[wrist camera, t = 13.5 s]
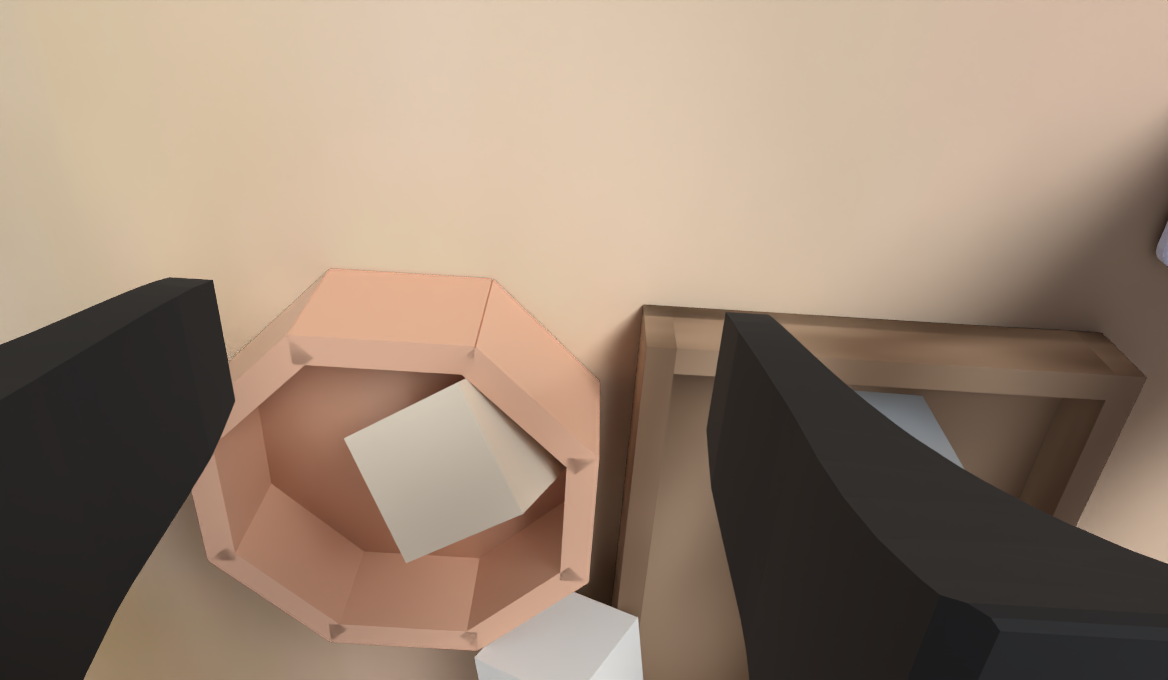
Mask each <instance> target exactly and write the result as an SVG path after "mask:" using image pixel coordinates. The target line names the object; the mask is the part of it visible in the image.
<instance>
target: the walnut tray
mask: <svg viewBox="0 0 1168 680" xmlns="http://www.w3.org/2000/svg"><path fill="white" fill-rule="evenodd" d="M726 312H735V313H751V314H768V315H770V316H771V317H773V318H774V319H775V320H776V321H777V322H779V323H780V324H781V325H782V326H783V327H784V328H785V329H786V330H787V331H788V332H790V333H791V334H792V335H793V336H794V337H795V338H796V339H797V340H798V341H799V342H800V343H801V344H802V345H803V346H804V347H806V348H807V349H808V350H809V351H810V352H811V353H812V354H813V355H814V356H815V357H816V358H817V359H818V360H820V361H821V362H822V363H823V364H824V365H825V366H826V367H827V368H828V369H829V370H831V371H832V372H833V373H834V374H835V375H836V376H837V377H838V378H840V379H841V380H842V381H843V382H844V383H845V384H846V385H848V386H849V387H850V388H851V389H852V390H854V391H866V392H879V393H892V394H906V395H919V396H923V397H924V399H925V401H926V403H927V404H928V406H929V408H930V410H931V411H932V413H933V415H934V417H935V418H936V420H937V422H938V424H939V425H940V427H941V429H942V431H943V432H944V434H945V436H946V438H947V439H948V441H949V443H950V445H951V446H952V448H953V450H954V452H955V453H956V455H957V457H958V459H959V460H960V462H961V464H962V466H963V467H964V469H965V470H966V471H968V472H970V473H971V474H973V475H975V476H977V477H978V478H980V479H982V480H984V481H985V482H987V483H989V484H991V485H993V486H995V487H997V488H999V489H1000V490H1002V491H1004V492H1006V493H1008V494H1010V495H1012V496H1014V497H1015V498H1017V499H1019V500H1021V501H1023V502H1025V503H1027V504H1029V505H1031V506H1033V507H1035V508H1037V509H1039V510H1041V511H1043V512H1045V513H1047V514H1049V515H1051V516H1053V517H1056V518H1058V519H1060V520H1062V521H1064V522H1066V523H1068V524H1071V525H1073V526H1076V524H1077V522H1078V520H1079V518H1080V516H1081V514H1082V512H1083V510H1084V508H1085V506H1086V503H1087V501H1088V499H1089V497H1090V495H1091V493H1092V491H1093V489H1094V487H1095V485H1096V483H1097V480H1098V478H1099V476H1100V474H1101V472H1102V470H1103V468H1104V466H1105V464H1106V462H1107V460H1108V458H1109V455H1110V453H1111V451H1112V449H1113V447H1114V445H1115V443H1116V441H1117V439H1118V437H1119V435H1120V432H1121V430H1122V428H1123V426H1124V424H1125V422H1126V420H1127V418H1128V416H1129V414H1130V412H1131V410H1132V407H1133V405H1134V403H1135V401H1136V399H1137V397H1138V395H1139V393H1140V391H1141V389H1142V387H1143V384H1144V382H1145V380H1146V378H1147V377H1146V376H1145V375H1144V374H1143V373H1142V372H1141V371H1140V370H1139V369H1138V368H1137V367H1136V366H1135V365H1134V364H1133V363H1132V362H1131V361H1130V360H1129V359H1128V358H1127V357H1126V356H1125V355H1124V354H1123V353H1122V352H1121V351H1120V350H1119V349H1118V348H1117V347H1116V346H1115V345H1114V344H1113V343H1112V342H1111V341H1110V340H1109V339H1108V338H1107V337H1105V336H1104V335H1103V334H1102V333H1093V332H1077V331H1061V330H1044V329H1028V328H1012V327H996V326H980V325H964V324H948V323H931V322H915V321H899V320H883V319H867V318H851V317H835V316H818V315H802V314H786V313H770V312H754V311H738V310H722V309H706V308H689V307H673V306H657V305H643V314H642V323H641V332H640V342H639V351H638V360H637V370H636V379H635V388H634V398H633V407H632V416H631V426H630V435H629V444H628V454H627V463H626V472H625V482H624V491H623V500H622V510H621V519H620V528H619V538H618V547H617V557H616V566H615V575H614V585H613V594H612V603H611V607H613V608H616V609H618V610H621V611H623V612H626V613H628V614H631V615H633V616H636V617H638V623H639V635H640V647H641V660H642V672H643V680H749V673H748V664H747V655H746V647H745V642H744V636H743V631H742V625H741V619H740V615H739V610H738V606H737V602H736V597H735V593H734V588H733V584H732V580H731V575H730V571H729V566H728V562H727V558H726V553H725V549H724V545H723V540H722V536H721V531H720V527H719V522H718V518H717V513H716V509H715V504H714V499H713V495H712V490H711V481H710V471H709V459H708V446H707V432H706V428H707V422H708V416H709V410H710V404H711V398H712V392H713V386H714V380H715V374H716V367H717V361H718V355H719V349H720V343H721V337H722V331H723V325H724V319H725V313H726Z"/></svg>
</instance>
